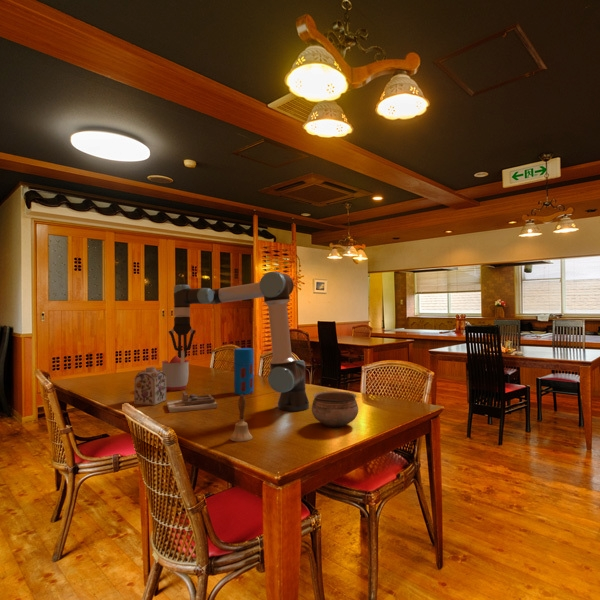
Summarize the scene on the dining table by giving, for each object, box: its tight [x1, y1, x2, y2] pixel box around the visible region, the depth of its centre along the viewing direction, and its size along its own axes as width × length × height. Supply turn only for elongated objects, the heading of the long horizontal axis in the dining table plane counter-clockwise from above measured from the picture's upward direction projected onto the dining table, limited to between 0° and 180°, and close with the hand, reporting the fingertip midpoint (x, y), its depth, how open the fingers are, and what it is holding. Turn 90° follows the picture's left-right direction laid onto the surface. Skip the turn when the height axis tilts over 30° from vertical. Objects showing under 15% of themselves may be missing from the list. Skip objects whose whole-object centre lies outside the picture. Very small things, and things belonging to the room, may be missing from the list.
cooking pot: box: [311, 390, 359, 429], centre depth 162 cm, size 25×19×12 cm
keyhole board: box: [166, 393, 218, 414], centre depth 195 cm, size 16×22×5 cm
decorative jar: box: [133, 366, 167, 406], centre depth 205 cm, size 12×12×18 cm
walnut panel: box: [181, 391, 216, 405], centre depth 197 cm, size 12×14×4 cm
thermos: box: [233, 347, 254, 396], centre depth 227 cm, size 11×11×25 cm
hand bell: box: [229, 395, 254, 443], centre depth 147 cm, size 8×8×16 cm
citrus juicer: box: [161, 355, 190, 392], centre depth 239 cm, size 16×17×20 cm
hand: (182, 364), depth 195 cm, fingers closed
